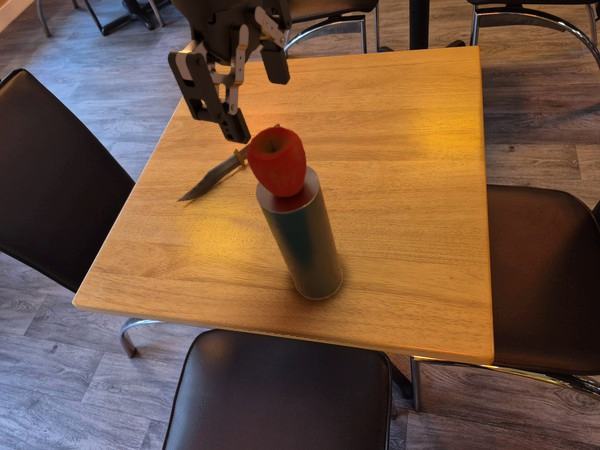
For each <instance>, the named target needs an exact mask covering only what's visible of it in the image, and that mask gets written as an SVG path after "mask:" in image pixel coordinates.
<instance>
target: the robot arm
mask: <svg viewBox="0 0 600 450" xmlns="http://www.w3.org/2000/svg"><path fill="white" fill-rule="evenodd" d="M170 2H171V4H172V6H173V7H174V8H175V10H177V11H178V12H179V13H180V14H181V15H182V16H183V17H184V18H185V20H186V21H187V22H188V25H189V29H190V39H191V42H190V43H188V45H186V46H185V47H184V49H182V50H170V51H169V52H168V55H167V64H168V65H169V68H170V70H171V72H172V74H173V77H174V79H175V82H176V84H177V86H178V89H179V90H180V93H181V95H182V98H183V100H184V101H185V103H186V106H187V108H188V111H189V113H190V116H191V117H192V119H193V120H194V121H201V122H208V123H214V124H216V125H218V126H219V128H220V130H221V132H222V135H223V138H224V139H225V140H226V141H227V142H229V143H230V142H231V143H235V144H241V145H248V144H249V143H250V142H251V140H252V133H251V132H250V129H249V127H248V125H247V122H246V119H245V117H244V114H243V111H242V109H241V107H239V88H240V87H241V86H243V84H244V82H245V65H246V64H247V63H248V61H249V59H250V57H251V55H252V53H253V52H255V51H256V50H258V48H259V47H261V48H260V50H259V54H260V57H261V60H262V64H263V66H264V69H265V73H266V76H267V79H268V81H269V82H270V83H271V84H274V85H281V86H285V85H288V83H289V82H290V80H291V74H290V68H289V64H288V60H287V56H286V52H285V49H284V47H285V45H286V41H287V40H286V35H285V33H286V31H290V30H291V29H292V26H293V19H292V15H291V12H290V7H289V2H288V0H170ZM272 9H276V10H277V13H278V15H277V14H273V11H272ZM216 63H217V64H218V65H220V66H223V67H230V71H229V73H227V74H226V73H219V72H218V71H217V69H216ZM220 85H224V87H225V91H224V92H225V93H224V98H222V97H220ZM203 102H204V103H203Z"/></svg>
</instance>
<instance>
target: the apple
mask: <svg viewBox="0 0 600 450" xmlns="http://www.w3.org/2000/svg"><path fill="white" fill-rule="evenodd" d="M249 143H250V144H249ZM249 143H248V144H249V146H248V148H247V159H246V160H247V164H248V166H249V168H250V171H251V172H252V174H253V176H254V178H256V180H257V182H260V183H261V184H262V185H263V186H264V187H265V188H266V189H267V190H268V191H269V192H271V193H272V194H274V195H276V196H279V197H292V196H294V195H296V194H297V193H299V191H300V190H301V189H302V187H303V184H304V180H305V175H306V165H307V157H306V152H305V148H304V143H303V142H302V139H301V138H300V136H299V135H298V133H296V132H295V131H294V130H292V129H289V128H286V127H284V126H281V125H280V126H279V127H274V126H269V127H267V128H265V129H263V130H261V131H259V132H258V133H257V134H255V136H253V137H251V139H250V141H249Z"/></svg>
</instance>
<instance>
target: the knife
mask: <svg viewBox="0 0 600 450" xmlns="http://www.w3.org/2000/svg"><path fill="white" fill-rule="evenodd" d="M279 126H280V127H281V124H280V123H276V124H275V125H274V126H273V127H279ZM249 144H250V142H248V144H246V145H245V146H244V147H243V148H241V150H239V149H238V148H235V149H234V151H233V154H232V155H231V156H229V157H228V158H226V159H224V160H223V161H222V162H220V163H219V164H217V165H216V166H215V167H213V168H212V169H210V170H209V171H207V173H206V174H205V175H204V176H203V177H202V179H201V180H200V181H199V182H198V183H197V184H196V185H195V186H194V187H192V188H191V189H190V190H188V192H186V193H185V194H183V195H182V196H181V197H179V198H178V199H177V200H176V201H175V202H176V203H177V202H178V203H179V202H187V201H192V200H195V199H197V198H200V197H202V196H205V194H207V193H208V192H210V191H211V190H212V189H213V188H214V187H215V186H216V185H217V184H218V183H219V182H220V181H222V179H224V178H225V177H226V176H227V175H229V174H230V173H232V172H233V171H235V170H236V169H237V168H239V167H240V166H241V167H243V168H244V167H246V164H245V163H246V160H247V148H248V146H249Z"/></svg>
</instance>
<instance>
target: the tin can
mask: <svg viewBox="0 0 600 450" xmlns="http://www.w3.org/2000/svg"><path fill="white" fill-rule="evenodd" d="M255 196H256V200H257V202H258V204H259V206H260V209H261V211H262V213H263V214H262V215H264V218H265V220H266V223H267V225H268V227H269V230H270V232H271V233H272V236H273V238H274V241H275V243H276V245H277V247H278V250H279V252H280V254H281V256H282V259H283V262H284V263H285V265H286V268H287V270H288V272H289V274H290V277H291V279H292V281H293V284H294V286H295V289H296V291H297V292H298V293H299V294H300V295H301V296H302V297H303V298H305V299H308V300H312V301H322V300H326V299H328V298H330V297H332V296H334V295H335V294H336V293H337V292H338V291H339V290H340V288H341V286H342V285H343V281H344V272H343V268H342V265H341V262H340V257H339V254H338V250H337V245H336V241H335V238H334V235H333V230H332V225H331V222H330V218H329V214H328V210H327V205H326V201H325V199H324V194H323V190H322V185H321V182H320V177H319V175H318V173H317V172H316V171H315V170H314V169H313V168H312V167H311V166H309V165H307V164H306V175H305V180H304V184H303V187H302V189H301V190H300V191H299V193H297V194H296V195H294V196H292V197H279V196H276V195H274V194H272V193H271V192H269V191H268V190H267V189H266V188H265V187H264V186H263V185H262V184H261V183H260V182H259V181H257V185H256V188H255Z"/></svg>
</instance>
